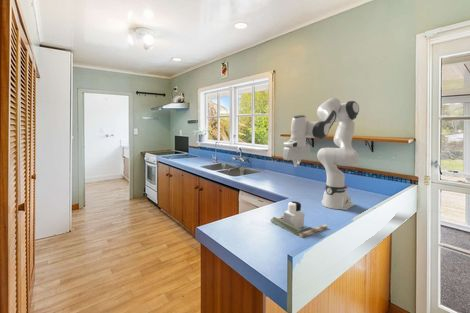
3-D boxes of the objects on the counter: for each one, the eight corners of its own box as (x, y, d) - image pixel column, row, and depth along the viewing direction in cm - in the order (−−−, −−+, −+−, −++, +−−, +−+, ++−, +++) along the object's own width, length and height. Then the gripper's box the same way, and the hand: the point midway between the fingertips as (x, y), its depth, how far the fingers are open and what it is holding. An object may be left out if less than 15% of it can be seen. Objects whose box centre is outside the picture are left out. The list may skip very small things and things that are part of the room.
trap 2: (309, 227, 129) (310, 226, 129) (314, 229, 126) (314, 228, 126) (297, 231, 123) (297, 231, 123) (301, 234, 121) (301, 233, 121)
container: (293, 221, 136) (294, 199, 134) (303, 226, 129) (305, 203, 128) (283, 224, 132) (284, 201, 130) (293, 230, 125) (295, 205, 123)
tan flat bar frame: (295, 214, 146) (295, 210, 146) (327, 228, 128) (327, 222, 128) (270, 221, 135) (270, 216, 135) (301, 237, 117) (301, 231, 117)
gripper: (305, 142, 151) (304, 164, 153) (281, 143, 140) (280, 167, 142) (313, 143, 146) (312, 165, 148) (289, 144, 135) (288, 168, 136)
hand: (296, 166), depth 145 cm, fingers closed
